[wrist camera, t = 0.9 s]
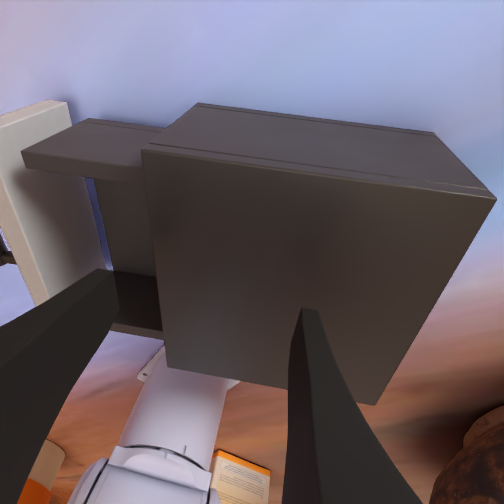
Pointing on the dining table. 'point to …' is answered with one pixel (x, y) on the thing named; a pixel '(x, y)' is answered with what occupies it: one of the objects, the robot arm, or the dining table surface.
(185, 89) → the dining table surface
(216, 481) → the supplement box
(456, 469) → the vessel
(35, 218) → the drawer
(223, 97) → the dining table surface
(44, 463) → the reusable coffee cup
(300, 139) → the dark grey box
